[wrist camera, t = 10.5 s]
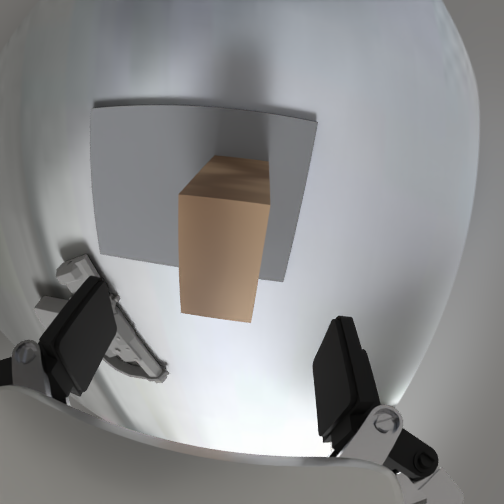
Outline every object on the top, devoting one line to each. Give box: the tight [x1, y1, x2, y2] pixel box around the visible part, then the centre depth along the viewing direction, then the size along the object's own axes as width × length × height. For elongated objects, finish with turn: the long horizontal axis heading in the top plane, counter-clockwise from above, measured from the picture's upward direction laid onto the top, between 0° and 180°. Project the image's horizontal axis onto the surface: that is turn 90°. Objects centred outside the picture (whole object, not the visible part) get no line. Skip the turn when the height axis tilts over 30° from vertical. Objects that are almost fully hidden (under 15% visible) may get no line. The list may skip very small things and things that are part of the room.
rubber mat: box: [90, 105, 318, 282], centre depth 21 cm, size 18×14×1 cm
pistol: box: [33, 255, 169, 383], centre depth 30 cm, size 20×3×16 cm
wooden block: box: [178, 155, 270, 323], centre depth 17 cm, size 4×7×9 cm, turn 173°
